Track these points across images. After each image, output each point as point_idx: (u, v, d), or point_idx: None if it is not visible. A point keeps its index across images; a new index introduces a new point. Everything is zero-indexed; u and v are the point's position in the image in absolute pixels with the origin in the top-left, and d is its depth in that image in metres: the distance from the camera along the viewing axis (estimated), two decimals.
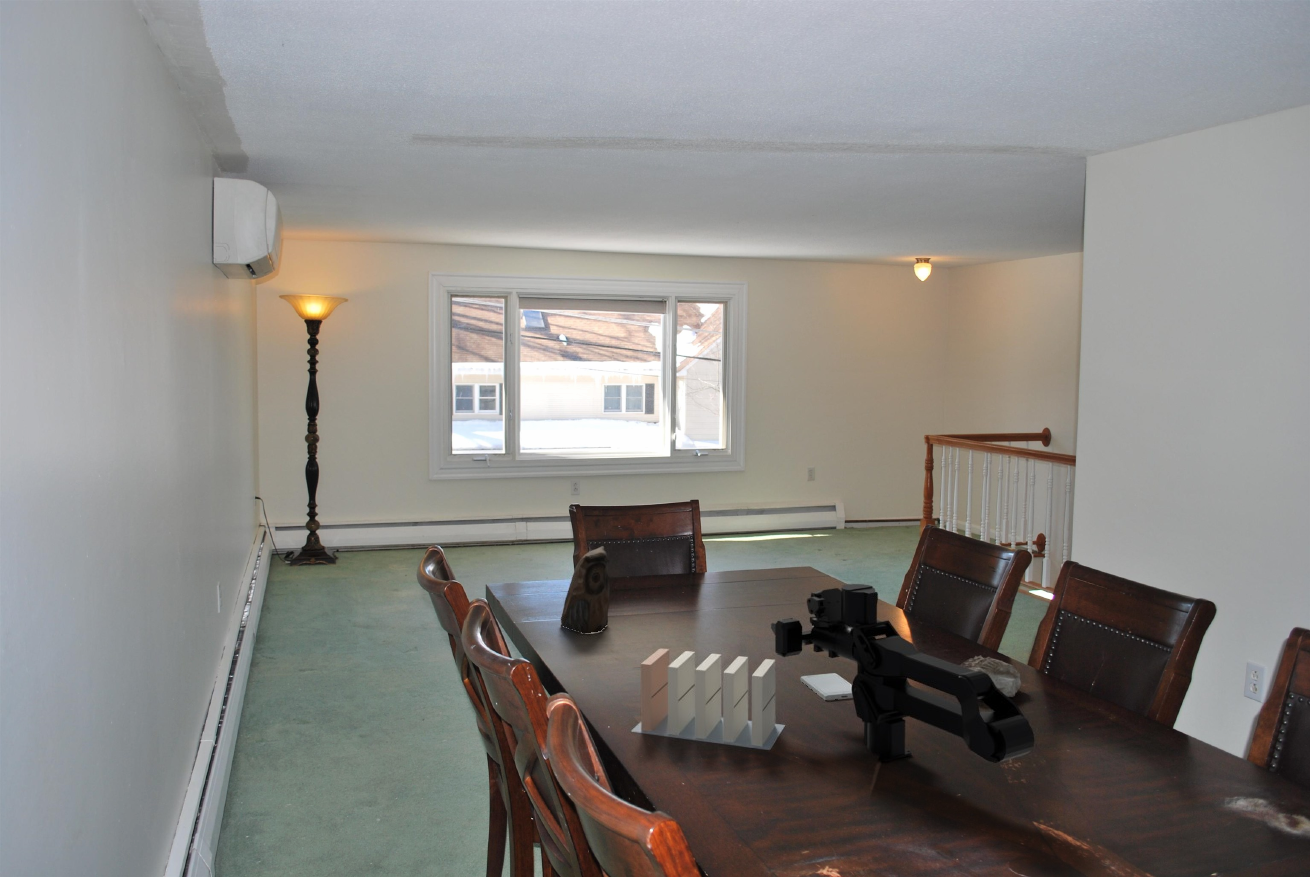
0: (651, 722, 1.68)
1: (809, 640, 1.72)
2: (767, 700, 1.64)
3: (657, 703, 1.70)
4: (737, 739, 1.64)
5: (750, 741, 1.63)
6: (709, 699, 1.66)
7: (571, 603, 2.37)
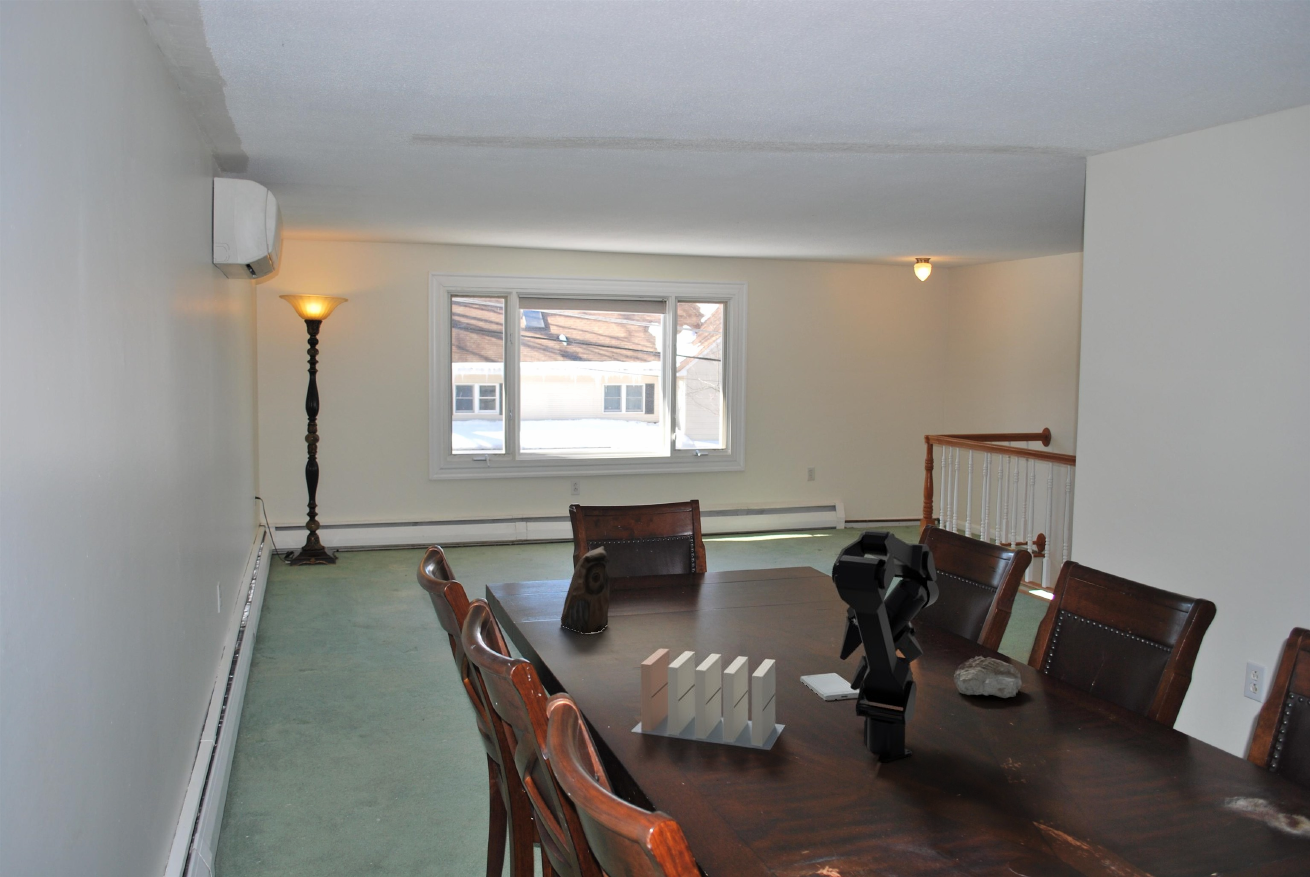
0: (651, 722, 1.68)
1: None
2: (767, 700, 1.64)
3: (657, 703, 1.70)
4: (737, 739, 1.64)
5: (750, 741, 1.63)
6: (709, 699, 1.66)
7: (571, 603, 2.37)
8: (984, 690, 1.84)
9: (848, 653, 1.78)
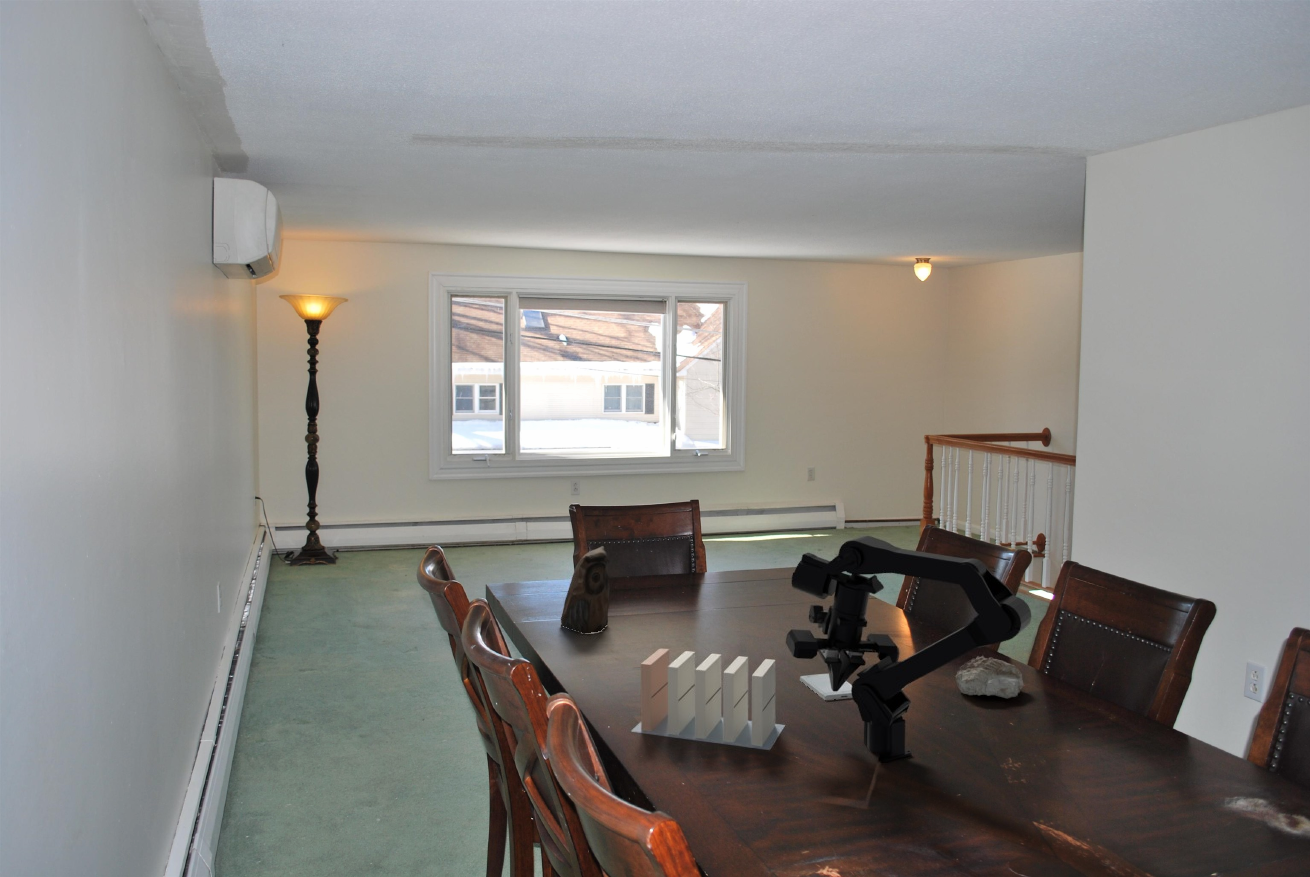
0: (651, 722, 1.68)
1: (829, 646, 1.63)
2: (767, 700, 1.64)
3: (657, 703, 1.70)
4: (737, 739, 1.64)
5: (750, 741, 1.63)
6: (709, 699, 1.66)
7: (571, 603, 2.37)
8: (986, 690, 1.84)
9: None
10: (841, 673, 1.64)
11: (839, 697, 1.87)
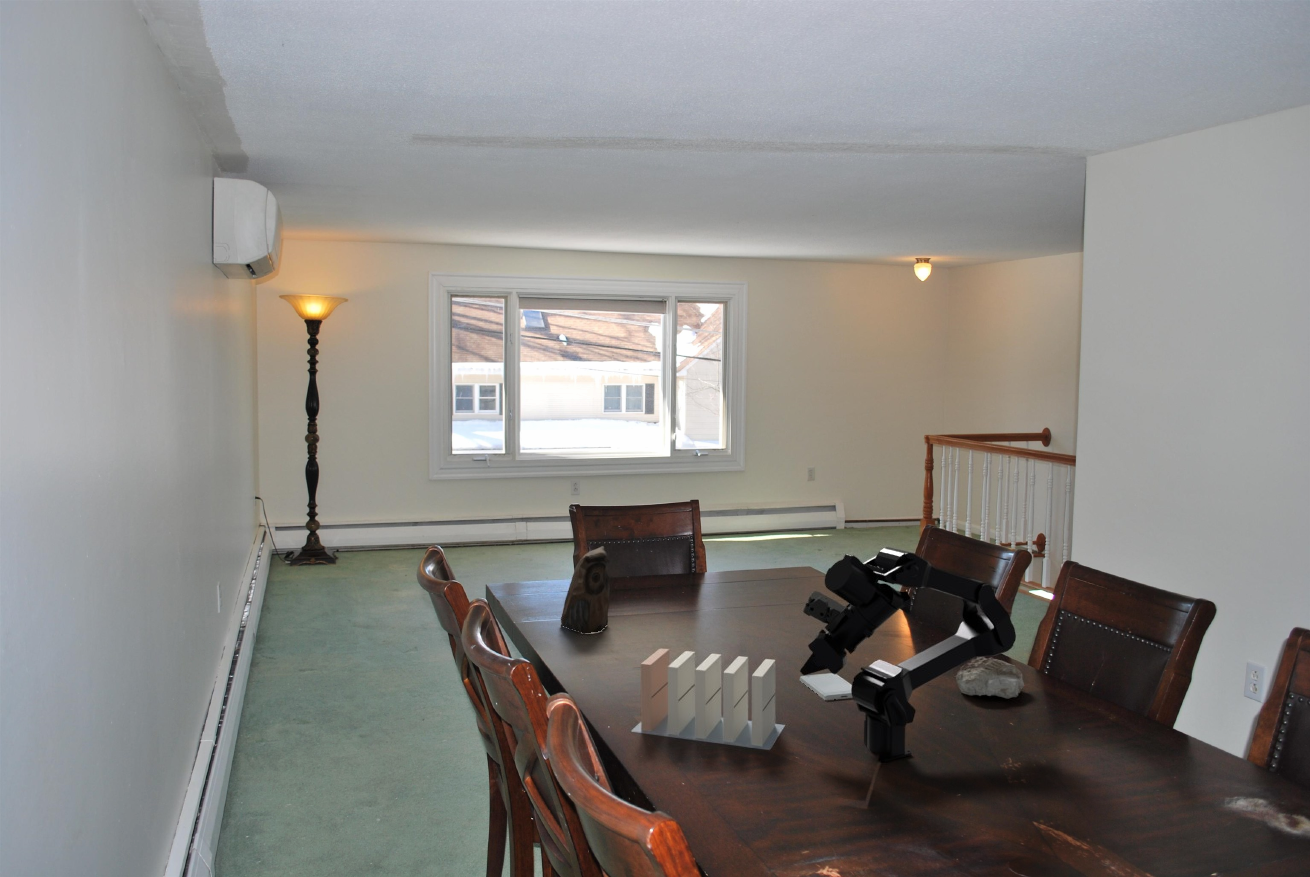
0: (651, 722, 1.68)
1: None
2: (767, 700, 1.64)
3: (657, 703, 1.70)
4: (737, 739, 1.64)
5: (750, 741, 1.63)
6: (709, 699, 1.66)
7: (571, 603, 2.37)
8: (987, 690, 1.84)
9: None
10: None
11: (839, 697, 1.87)
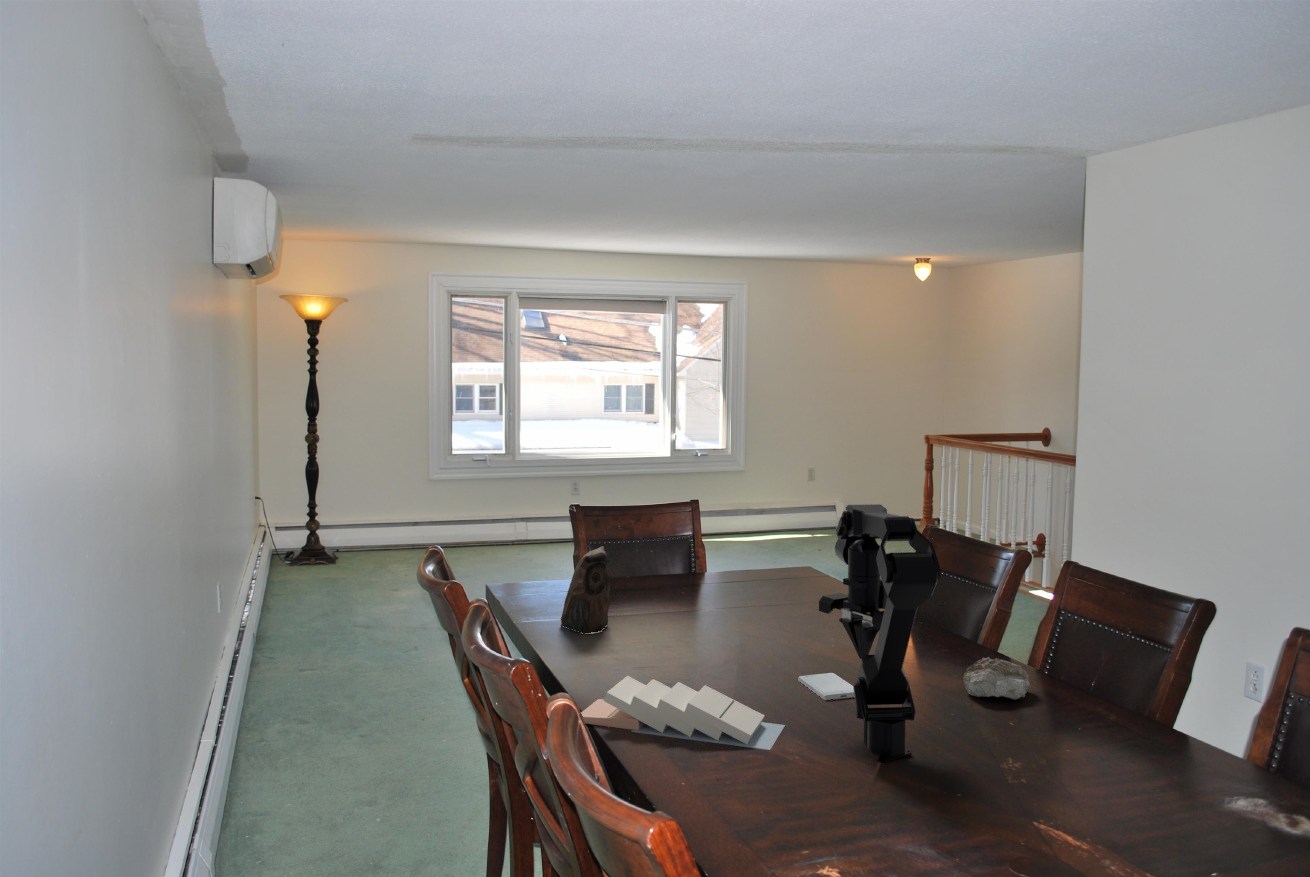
0: (631, 718, 1.69)
1: (849, 608, 1.74)
2: (721, 709, 1.67)
3: (624, 712, 1.73)
4: (737, 739, 1.64)
5: (750, 741, 1.63)
6: None
7: (571, 603, 2.37)
8: (996, 691, 1.83)
9: None
10: None
11: (838, 697, 1.87)
